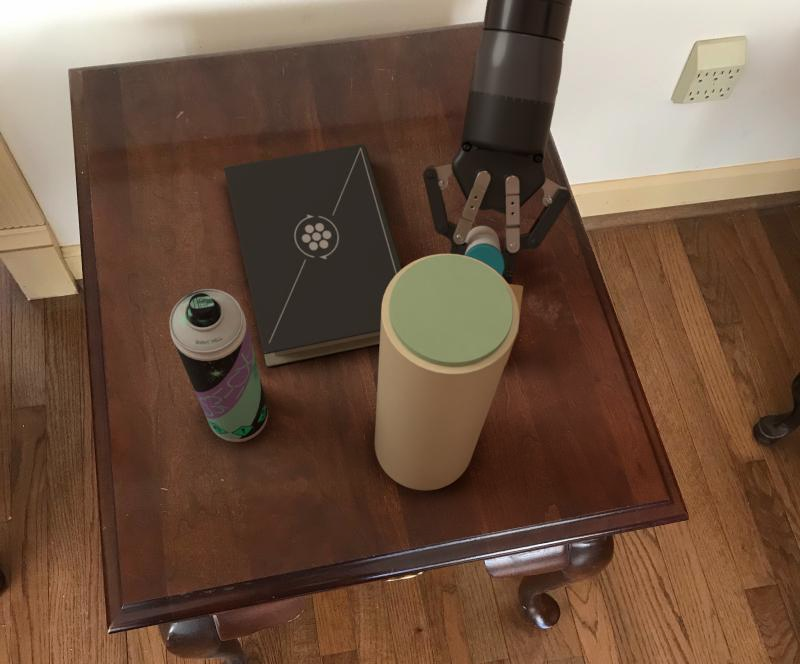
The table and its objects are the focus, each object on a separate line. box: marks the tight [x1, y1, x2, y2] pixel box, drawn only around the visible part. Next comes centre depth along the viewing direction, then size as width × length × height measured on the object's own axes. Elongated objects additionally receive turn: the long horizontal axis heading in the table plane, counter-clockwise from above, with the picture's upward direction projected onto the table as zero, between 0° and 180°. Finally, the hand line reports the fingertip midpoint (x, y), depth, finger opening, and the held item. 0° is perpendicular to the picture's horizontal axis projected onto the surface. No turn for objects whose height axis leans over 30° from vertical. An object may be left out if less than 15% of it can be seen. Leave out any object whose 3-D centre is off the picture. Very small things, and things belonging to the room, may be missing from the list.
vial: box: [465, 225, 504, 276], centre depth 78 cm, size 11×4×11 cm, turn 171°
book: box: [223, 143, 403, 368], centre depth 82 cm, size 22×15×3 cm
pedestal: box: [374, 253, 520, 491], centre depth 65 cm, size 9×9×24 cm
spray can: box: [169, 288, 269, 443], centre depth 67 cm, size 6×6×20 cm
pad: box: [389, 255, 513, 366], centre depth 54 cm, size 8×8×1 cm
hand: (477, 285), depth 78 cm, fingers closed on vial, 3 cm apart
